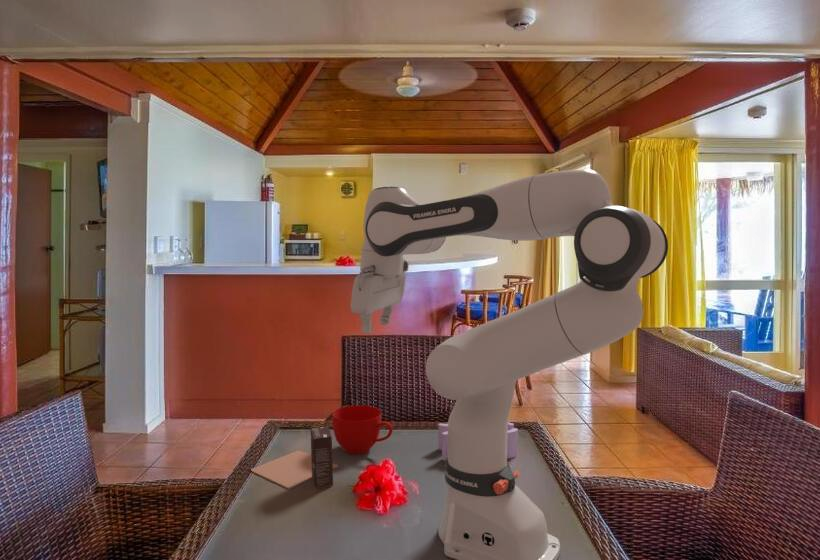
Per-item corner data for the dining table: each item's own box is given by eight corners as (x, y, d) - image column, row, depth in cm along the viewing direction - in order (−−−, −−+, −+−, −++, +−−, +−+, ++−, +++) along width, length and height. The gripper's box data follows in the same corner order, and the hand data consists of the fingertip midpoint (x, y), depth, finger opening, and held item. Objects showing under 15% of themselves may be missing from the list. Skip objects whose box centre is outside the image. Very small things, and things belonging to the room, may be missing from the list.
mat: (338, 466, 130) (338, 465, 130) (289, 489, 118) (289, 488, 118) (298, 451, 139) (298, 450, 139) (249, 470, 128) (249, 469, 128)
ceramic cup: (379, 466, 130) (379, 426, 130) (322, 454, 138) (322, 416, 137) (403, 447, 142) (403, 411, 141) (349, 437, 149) (349, 402, 149)
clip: (508, 443, 146) (509, 418, 145) (522, 462, 134) (523, 435, 133) (436, 445, 144) (436, 420, 144) (443, 464, 132) (444, 437, 131)
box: (310, 476, 124) (310, 427, 123) (329, 473, 125) (329, 425, 124) (313, 489, 118) (313, 438, 117) (333, 486, 120) (333, 436, 118)
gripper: (375, 270, 101) (369, 340, 103) (411, 262, 120) (406, 322, 122) (345, 266, 103) (340, 335, 105) (386, 259, 123) (381, 318, 124)
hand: (376, 328), depth 114 cm, fingers open, 8 cm apart
